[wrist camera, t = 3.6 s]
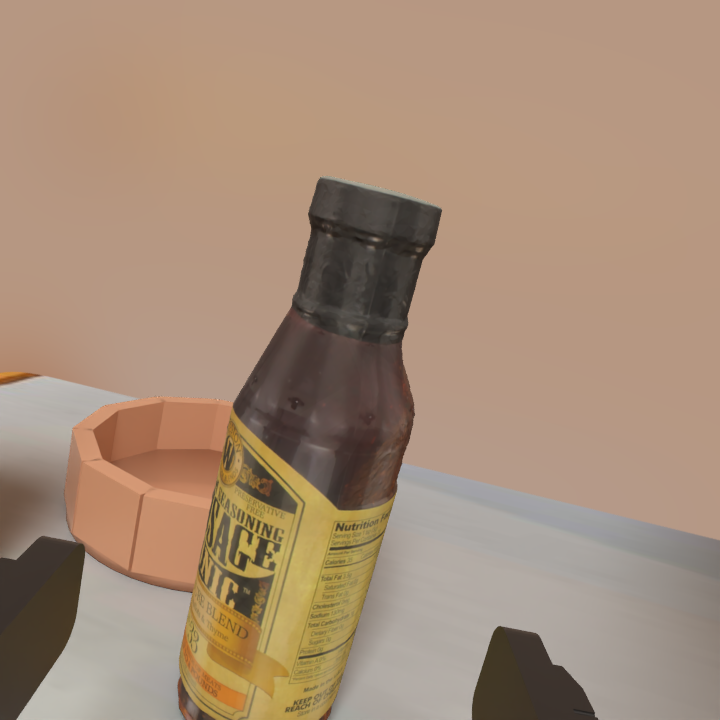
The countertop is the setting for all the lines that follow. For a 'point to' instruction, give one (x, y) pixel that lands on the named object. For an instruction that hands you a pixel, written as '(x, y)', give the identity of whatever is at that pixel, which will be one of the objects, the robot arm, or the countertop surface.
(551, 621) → the countertop surface
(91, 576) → the countertop surface
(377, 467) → the sauce bottle
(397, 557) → the countertop surface
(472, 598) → the countertop surface
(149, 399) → the terracotta bowl
